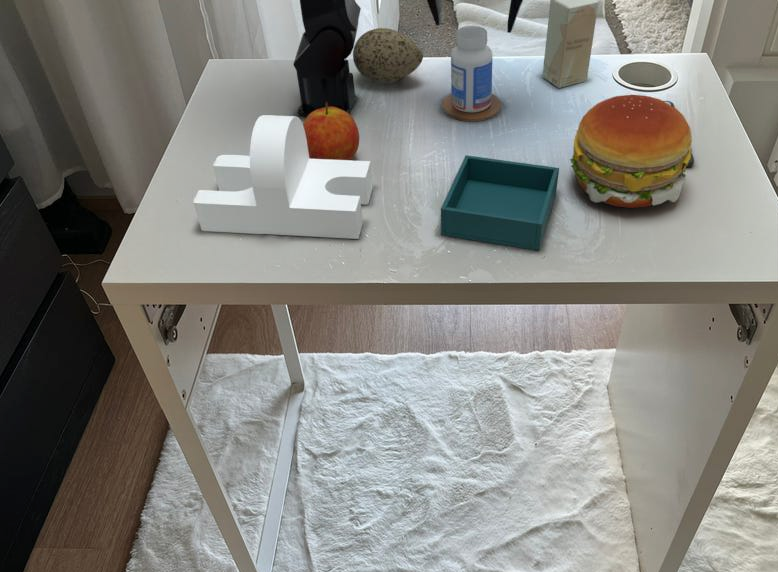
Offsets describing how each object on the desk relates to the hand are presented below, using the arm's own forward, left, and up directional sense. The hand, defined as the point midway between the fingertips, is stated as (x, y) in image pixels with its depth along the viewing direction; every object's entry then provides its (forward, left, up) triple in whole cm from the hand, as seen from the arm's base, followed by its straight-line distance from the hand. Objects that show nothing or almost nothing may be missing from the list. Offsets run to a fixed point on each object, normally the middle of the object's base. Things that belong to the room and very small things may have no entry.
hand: (473, 27), depth 97 cm
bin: (+9, -23, -11) cm, 27 cm away
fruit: (-13, -18, -11) cm, 25 cm away
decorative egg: (-18, +4, -7) cm, 20 cm away
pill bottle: (0, 0, -11) cm, 11 cm away
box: (+11, +11, -11) cm, 19 cm away
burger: (+22, -14, -11) cm, 28 cm away
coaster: (0, 0, -11) cm, 11 cm away
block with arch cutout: (-15, -28, -11) cm, 34 cm away
